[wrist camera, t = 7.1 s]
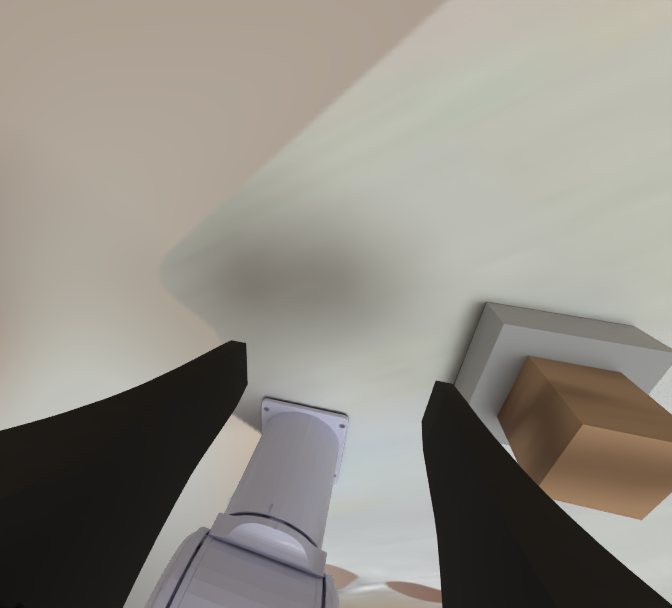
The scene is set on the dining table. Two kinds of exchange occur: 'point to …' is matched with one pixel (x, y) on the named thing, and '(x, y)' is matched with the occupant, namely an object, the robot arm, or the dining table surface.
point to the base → (550, 354)
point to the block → (589, 437)
